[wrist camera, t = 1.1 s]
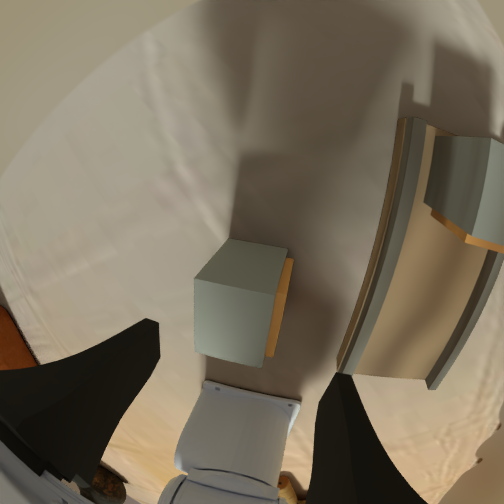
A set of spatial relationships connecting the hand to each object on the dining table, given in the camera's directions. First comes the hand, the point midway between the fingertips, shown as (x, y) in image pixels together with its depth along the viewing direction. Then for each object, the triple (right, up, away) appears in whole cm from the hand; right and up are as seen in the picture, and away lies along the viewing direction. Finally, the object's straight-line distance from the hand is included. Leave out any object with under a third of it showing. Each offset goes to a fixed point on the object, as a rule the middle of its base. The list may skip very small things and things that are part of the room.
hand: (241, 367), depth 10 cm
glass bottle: (-45, -65, +48) cm, 93 cm away
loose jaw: (+1, +3, +9) cm, 10 cm away
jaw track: (+13, +3, +6) cm, 14 cm away
